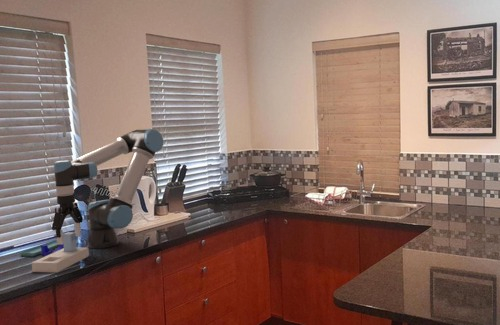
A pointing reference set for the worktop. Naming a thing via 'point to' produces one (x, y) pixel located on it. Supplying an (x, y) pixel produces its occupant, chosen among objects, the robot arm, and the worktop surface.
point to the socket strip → (59, 260)
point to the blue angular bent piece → (47, 252)
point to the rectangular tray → (39, 249)
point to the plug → (69, 242)
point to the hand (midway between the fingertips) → (69, 240)
